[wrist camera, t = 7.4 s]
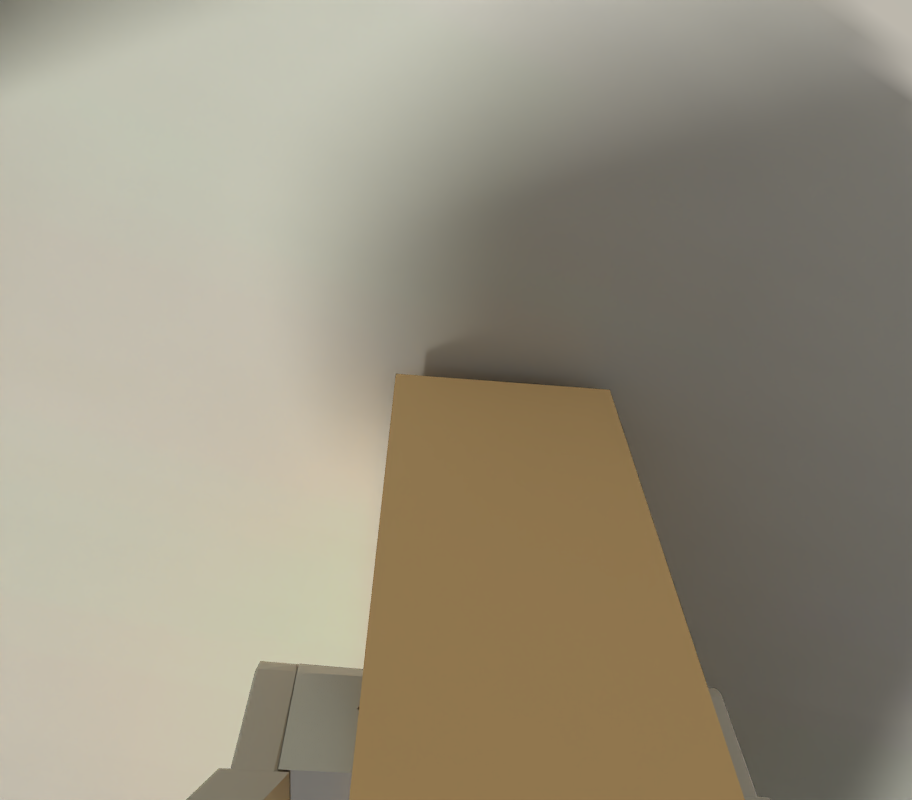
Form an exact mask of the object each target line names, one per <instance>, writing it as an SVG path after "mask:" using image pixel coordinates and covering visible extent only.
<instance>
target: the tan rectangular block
mask: <svg viewBox="0 0 912 800" xmlns="http://www.w3.org/2000/svg"><path fill="white" fill-rule="evenodd" d="M349 800H745V799H744V796H743V793H742V790H741V787H740V784H739V781H738V777H737V774H736V771H735V768H734V765H733V762H732V759H731V756H730V753H729V750H728V747H727V744H726V741H725V738H724V735H723V732H722V729H721V726H720V723H719V720H718V717H717V714H716V711H715V708H714V705H713V702H712V699H711V696H710V693H709V690H708V687H707V683H706V680H705V677H704V674H703V671H702V668H701V665H700V662H699V659H698V656H697V653H696V650H695V647H694V644H693V641H692V638H691V635H690V632H689V629H688V626H687V623H686V620H685V617H684V614H683V611H682V608H681V605H680V602H679V599H678V596H677V593H676V589H675V586H674V583H673V580H672V577H671V574H670V571H669V568H668V565H667V562H666V559H665V556H664V553H663V550H662V547H661V544H660V541H659V538H658V535H657V532H656V529H655V526H654V523H653V520H652V517H651V514H650V511H649V508H648V505H647V502H646V499H645V495H644V492H643V489H642V486H641V483H640V480H639V477H638V474H637V471H636V468H635V465H634V462H633V459H632V456H631V453H630V450H629V447H628V444H627V441H626V438H625V435H624V432H623V429H622V426H621V423H620V420H619V417H618V414H617V411H616V408H615V405H614V401H613V398H612V395H611V392H610V390H606V389H592V388H579V387H566V386H552V385H539V384H525V383H512V382H498V381H485V380H472V379H458V378H445V377H431V376H418V375H405V374H396V377H395V386H394V396H393V405H392V414H391V423H390V432H389V441H388V450H387V459H386V468H385V477H384V486H383V496H382V505H381V514H380V523H379V532H378V541H377V550H376V559H375V568H374V577H373V586H372V596H371V605H370V614H369V623H368V632H367V641H366V650H365V659H364V668H363V677H362V686H361V696H360V705H359V714H358V723H357V732H356V741H355V750H354V759H353V768H352V777H351V786H350V796H349Z"/></svg>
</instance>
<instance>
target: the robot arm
mask: <svg viewBox="0 0 912 800" xmlns="http://www.w3.org/2000/svg"><path fill="white" fill-rule="evenodd" d="M362 677H363V669H356V668H344V667H332V666H321V665H309V664H290V663H277V662H265V661H260V663H259V665H258V667H257V669H256V671H255V674H254V678H253V682H252V686H251V690H250V694H249V698H248V702H247V706H246V710H245V714H244V718H243V722H242V726H241V730H240V734H239V738H238V742H237V745H236V749H235V753H234V757H233V761H232V765H231V769H225V768H219V769H218V770H217V771H216V772H215V773H214V774H212V775H211V776H210V777H209V778H208V779H207V780H206V781H205V782H204V783H203V784H202V785H201V786H200V787H199V788H198V789H197V790H196V791H195V792H194V793H193V794H192V795H190V796H189V797H188V798H187V799H186V800H349V796H350V786H351V777H352V768H353V759H354V750H355V741H356V732H357V723H358V714H359V705H360V696H361V686H362ZM708 690H709V693H710V696H711V699H712V702H713V705H714V708H715V711H716V714H717V717H718V720H719V723H720V726H721V729H722V732H723V735H724V738H725V741H726V744H727V747H728V750H729V753H730V756H731V759H732V762H733V765H734V768H735V771H736V774H737V777H738V781H739V784H740V787H741V790H742V793H743V796H744V799H745V800H771V799H770V798H769V797H760V796H757V794H756V791H755V788H754V785H753V782H752V779H751V777H750V774H749V771H748V768H747V765H746V762H745V760H744V757H743V754H742V751H741V748H740V745H739V743H738V740H737V737H736V734H735V731H734V728H733V726H732V723H731V720H730V717H729V714H728V711H727V709H726V706H725V703H724V700H723V697H722V695H721V694H720V692H719V691H718V690H717V689H716V688H708Z"/></svg>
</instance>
